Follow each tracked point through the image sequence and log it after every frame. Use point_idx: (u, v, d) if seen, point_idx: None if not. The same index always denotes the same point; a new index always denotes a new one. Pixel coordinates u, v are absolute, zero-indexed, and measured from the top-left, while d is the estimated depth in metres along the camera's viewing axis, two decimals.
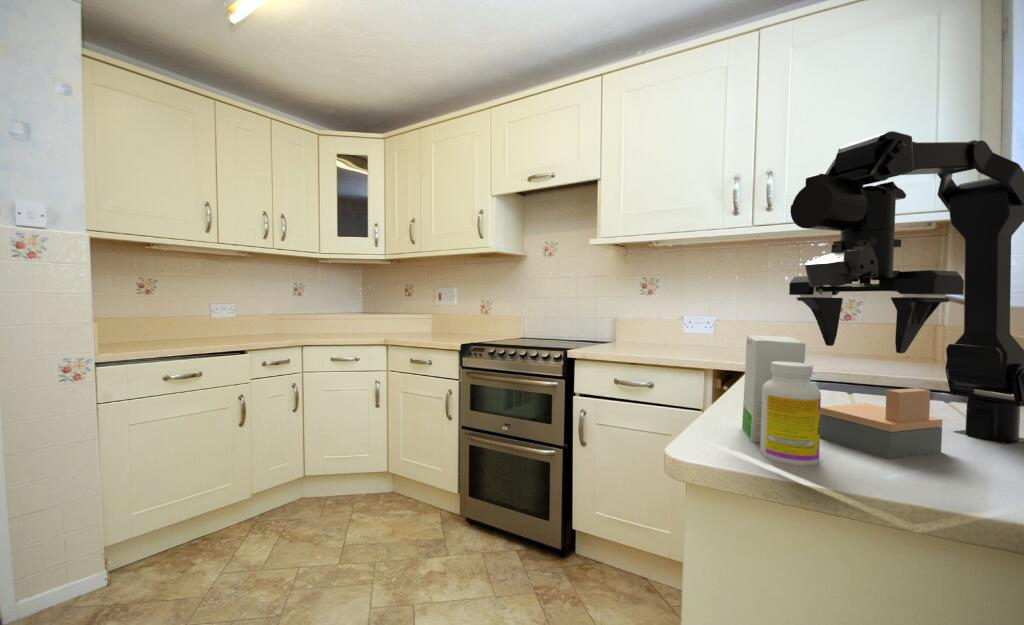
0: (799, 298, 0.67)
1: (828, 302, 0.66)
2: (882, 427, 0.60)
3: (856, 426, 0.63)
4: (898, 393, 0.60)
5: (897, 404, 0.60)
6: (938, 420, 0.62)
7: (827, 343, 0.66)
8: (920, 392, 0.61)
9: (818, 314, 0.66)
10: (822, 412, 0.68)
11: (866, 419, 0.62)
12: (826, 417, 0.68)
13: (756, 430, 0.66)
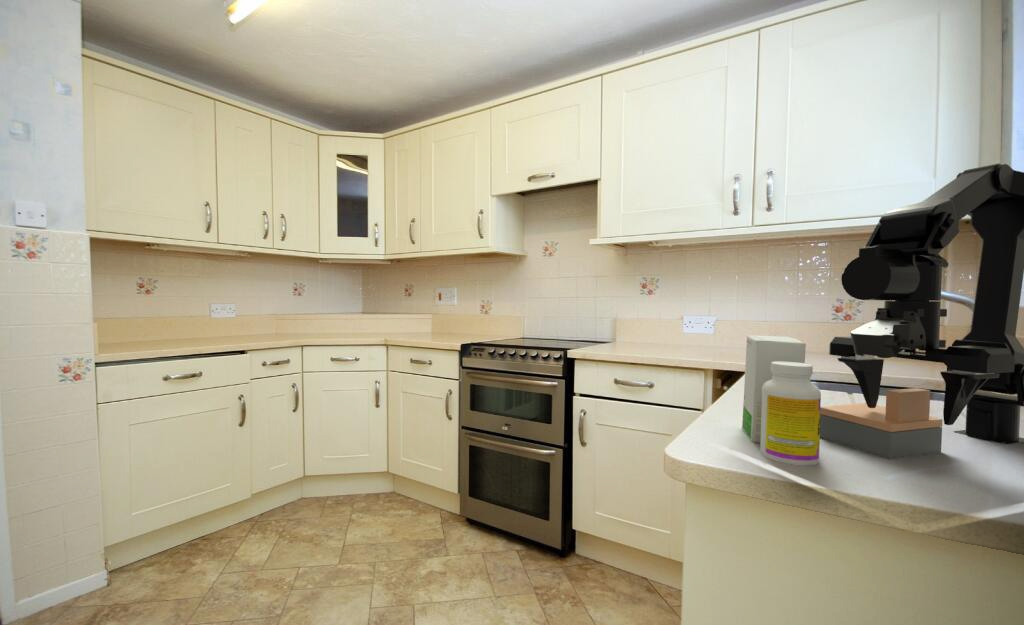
0: (840, 359, 0.68)
1: (870, 365, 0.67)
2: (882, 427, 0.60)
3: (856, 426, 0.63)
4: (898, 393, 0.60)
5: (897, 404, 0.60)
6: (938, 420, 0.62)
7: (869, 406, 0.66)
8: (920, 392, 0.61)
9: (860, 376, 0.67)
10: (822, 412, 0.68)
11: (866, 419, 0.62)
12: (826, 417, 0.68)
13: (756, 430, 0.66)
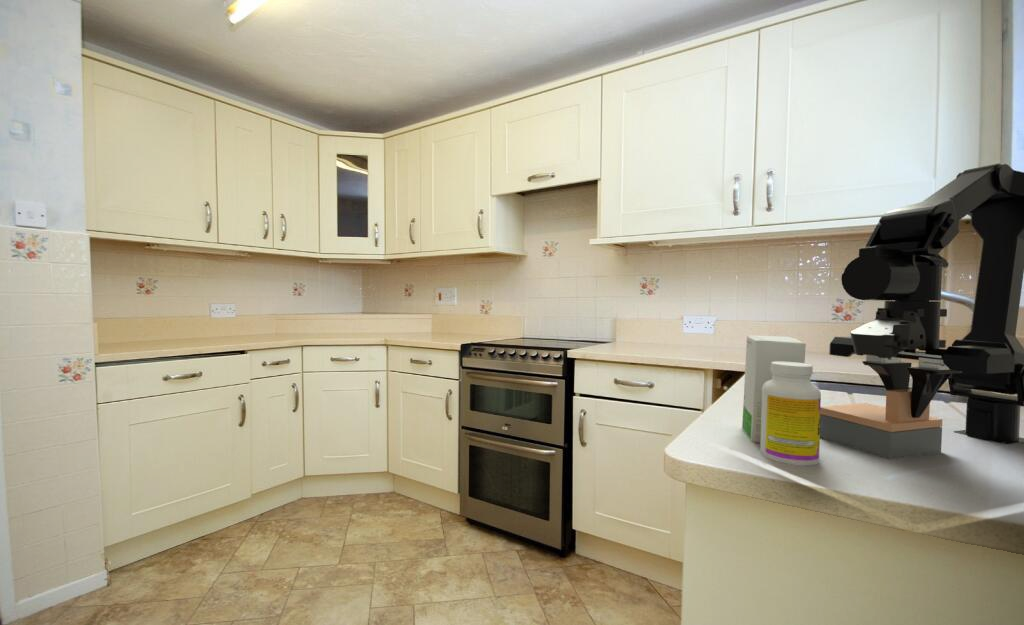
0: (866, 363, 0.64)
1: (897, 368, 0.63)
2: (882, 427, 0.60)
3: (856, 426, 0.63)
4: (898, 393, 0.60)
5: (897, 404, 0.60)
6: (938, 420, 0.62)
7: None
8: None
9: (887, 381, 0.63)
10: (822, 412, 0.68)
11: (866, 419, 0.62)
12: (826, 417, 0.68)
13: (756, 430, 0.66)
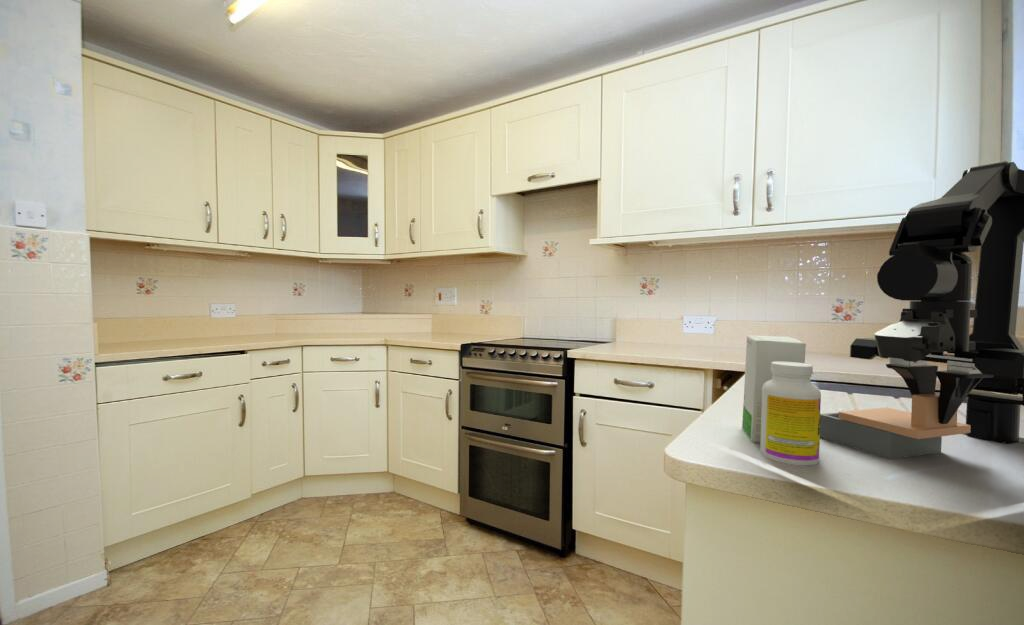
0: (889, 366, 0.61)
1: (923, 372, 0.60)
2: (908, 434, 0.57)
3: (856, 426, 0.63)
4: (925, 398, 0.57)
5: (924, 409, 0.57)
6: (966, 426, 0.59)
7: None
8: None
9: (912, 385, 0.60)
10: (842, 417, 0.65)
11: (890, 425, 0.59)
12: (826, 417, 0.68)
13: (756, 430, 0.66)
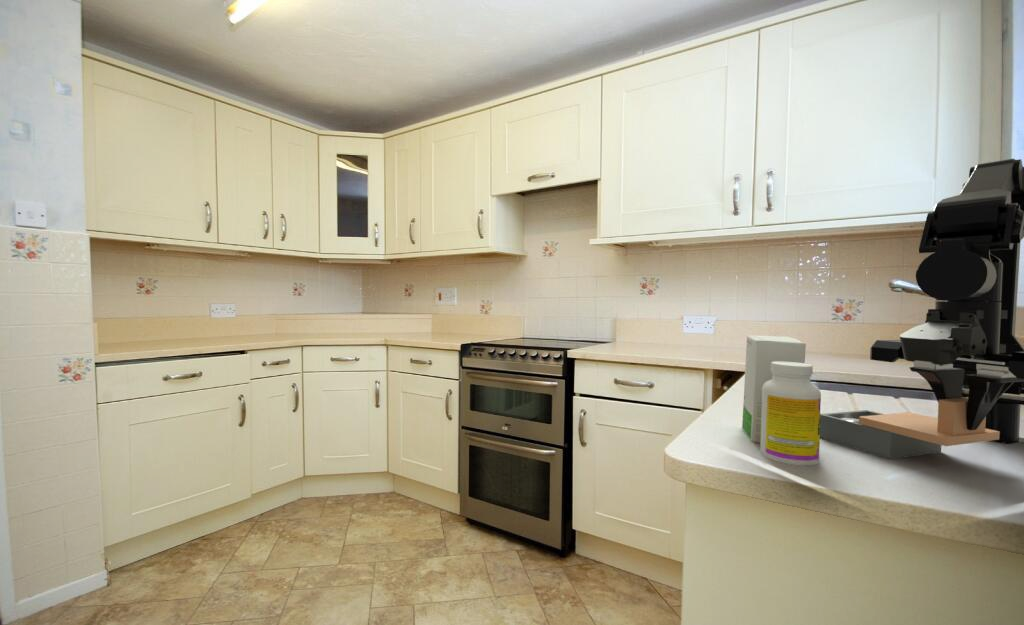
0: (914, 369, 0.59)
1: (950, 375, 0.57)
2: (935, 440, 0.55)
3: (856, 426, 0.63)
4: (953, 403, 0.55)
5: (951, 415, 0.55)
6: (995, 432, 0.56)
7: None
8: None
9: (938, 389, 0.57)
10: (863, 422, 0.63)
11: (916, 431, 0.57)
12: (826, 417, 0.68)
13: (756, 430, 0.66)
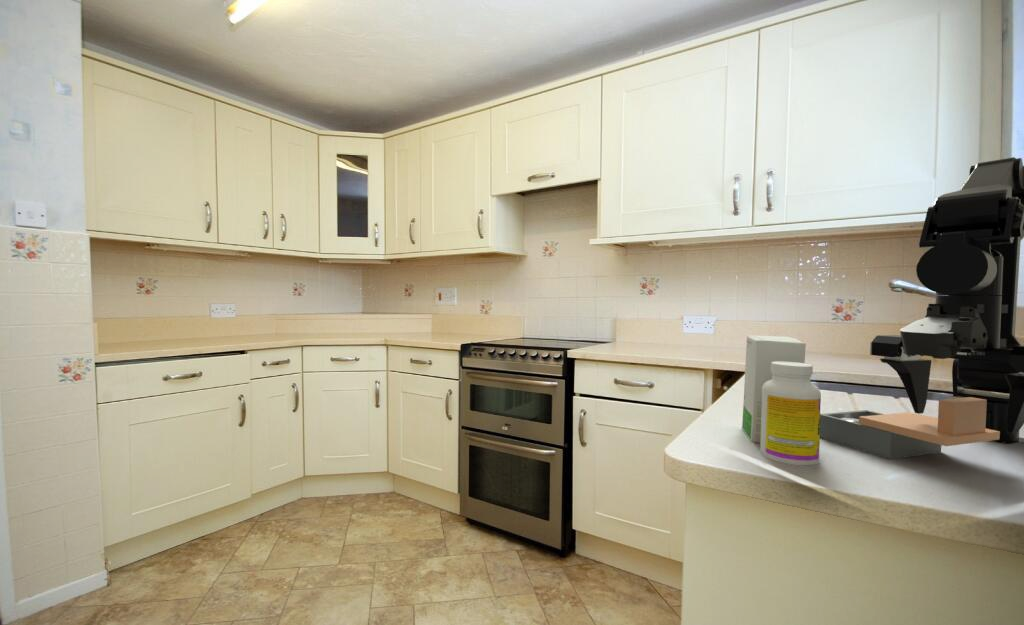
0: (884, 360, 0.62)
1: (917, 366, 0.61)
2: (935, 440, 0.55)
3: (856, 426, 0.63)
4: (953, 403, 0.55)
5: (952, 415, 0.55)
6: (996, 432, 0.56)
7: (917, 411, 0.60)
8: (976, 401, 0.56)
9: (906, 379, 0.61)
10: (863, 422, 0.63)
11: (916, 431, 0.57)
12: (826, 417, 0.68)
13: (756, 430, 0.66)
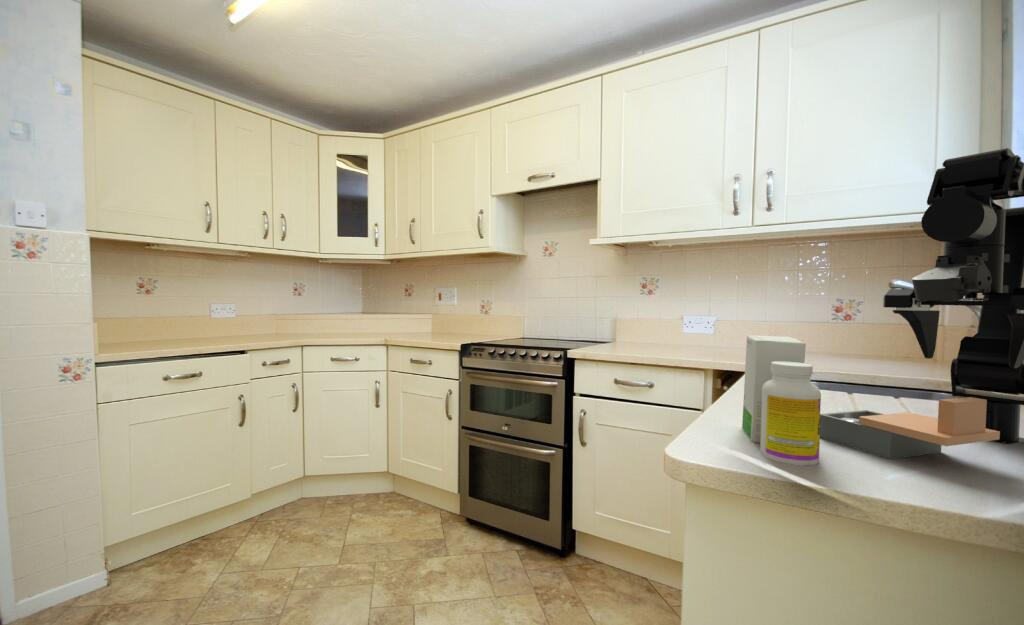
0: (896, 311, 0.68)
1: (927, 315, 0.67)
2: (935, 440, 0.55)
3: (856, 426, 0.63)
4: (953, 403, 0.55)
5: (952, 415, 0.55)
6: (996, 432, 0.56)
7: (926, 356, 0.66)
8: (976, 401, 0.56)
9: (917, 327, 0.67)
10: (863, 422, 0.63)
11: (916, 431, 0.57)
12: (826, 417, 0.68)
13: (756, 430, 0.66)
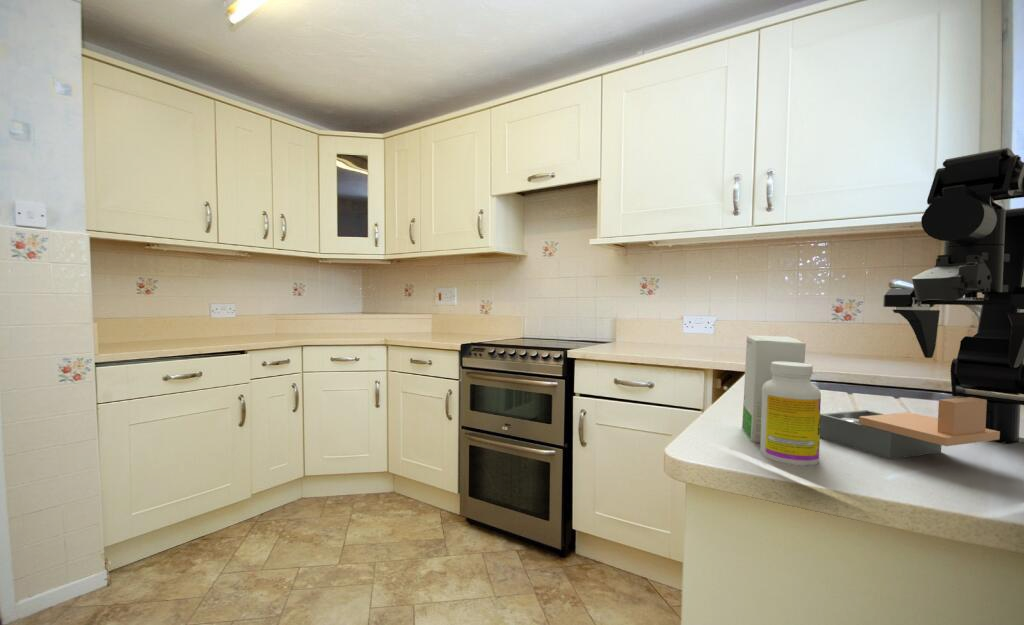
0: (896, 310, 0.68)
1: (927, 315, 0.67)
2: (935, 440, 0.55)
3: (856, 426, 0.63)
4: (953, 403, 0.55)
5: (952, 415, 0.55)
6: (996, 432, 0.56)
7: (926, 355, 0.66)
8: (976, 401, 0.56)
9: (917, 326, 0.67)
10: (863, 422, 0.63)
11: (916, 431, 0.57)
12: (826, 417, 0.68)
13: (756, 430, 0.66)
